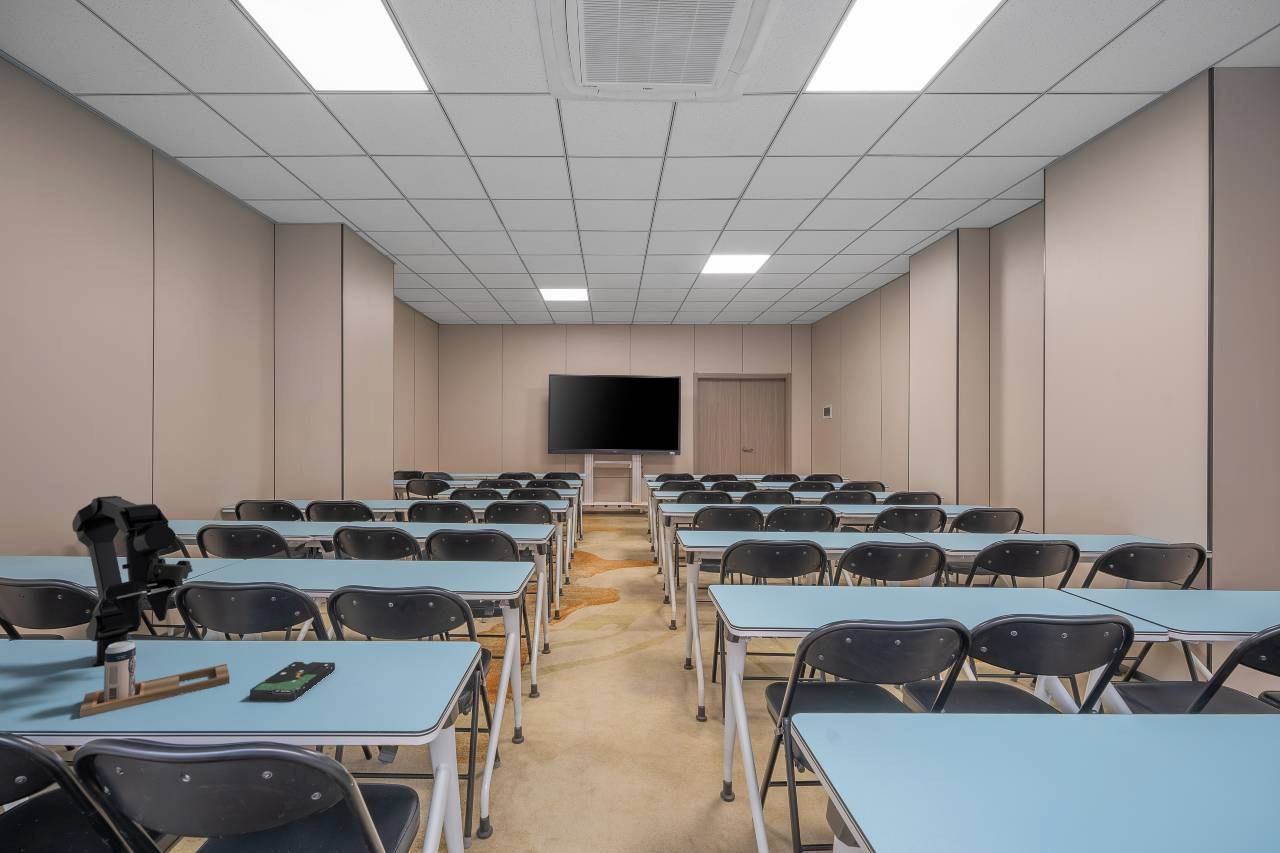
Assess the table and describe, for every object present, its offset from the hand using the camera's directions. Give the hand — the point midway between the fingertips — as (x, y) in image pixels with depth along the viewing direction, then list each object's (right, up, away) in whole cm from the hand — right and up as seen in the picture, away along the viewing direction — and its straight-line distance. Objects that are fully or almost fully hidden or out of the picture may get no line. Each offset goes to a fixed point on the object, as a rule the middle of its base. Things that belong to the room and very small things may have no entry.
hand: (150, 623), depth 128 cm
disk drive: (+36, -14, -3) cm, 38 cm away
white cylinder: (+3, -13, -11) cm, 17 cm away
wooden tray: (+9, -13, -7) cm, 17 cm away
